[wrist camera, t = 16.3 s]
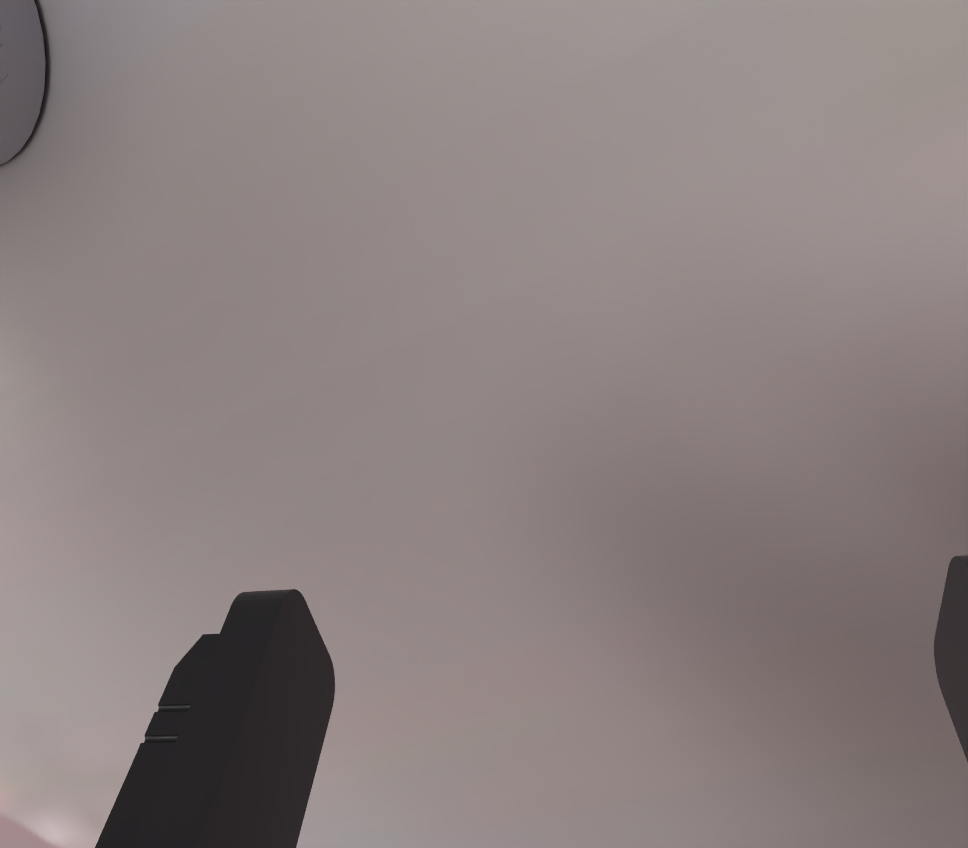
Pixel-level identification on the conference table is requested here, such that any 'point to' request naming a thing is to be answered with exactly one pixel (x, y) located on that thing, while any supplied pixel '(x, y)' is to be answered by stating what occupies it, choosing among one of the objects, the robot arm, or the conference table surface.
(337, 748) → the conference table surface
